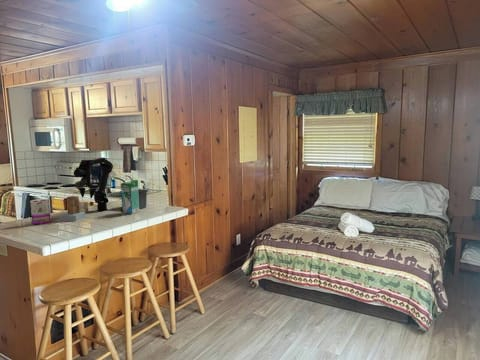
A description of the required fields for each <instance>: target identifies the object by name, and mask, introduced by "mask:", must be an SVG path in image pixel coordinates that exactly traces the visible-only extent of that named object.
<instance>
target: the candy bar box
mask: <svg viewBox="0 0 480 360" xmlns="http://www.w3.org/2000/svg"><path fill="white" fill-rule="evenodd" d="M29 206H30V216H31V224H32V226H37V225H38V226H39V225H44V224H51V223H52V219H51V210H50V208H51V207H50V200H49V198H41V199H32V200H30V201H29Z"/></svg>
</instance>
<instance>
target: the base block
mask: <svg viewBox="0 0 480 360" xmlns="http://www.w3.org/2000/svg"><path fill="white" fill-rule="evenodd" d="M85 218H87V217H86V213H85V212H80V213H77V214H68V212H66V213H63V214H61V222H77V221H81V220H83V219H85ZM80 219H81V220H80Z"/></svg>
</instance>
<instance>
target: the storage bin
mask: <svg viewBox="0 0 480 360" xmlns="http://www.w3.org/2000/svg"><path fill="white" fill-rule="evenodd" d="M138 191H139V210H140V209H144V208H147V201H148V200H147V199H148V198H147V195H148V194H147V193H149V190H148V189H142V188H141V189H139V188H138ZM119 192H120V193H121V190H119Z"/></svg>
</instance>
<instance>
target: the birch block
mask: <svg viewBox="0 0 480 360" xmlns="http://www.w3.org/2000/svg"><path fill="white" fill-rule="evenodd" d="M79 209H80V212H85V214H87V213H89V202H87V201H79Z"/></svg>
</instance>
